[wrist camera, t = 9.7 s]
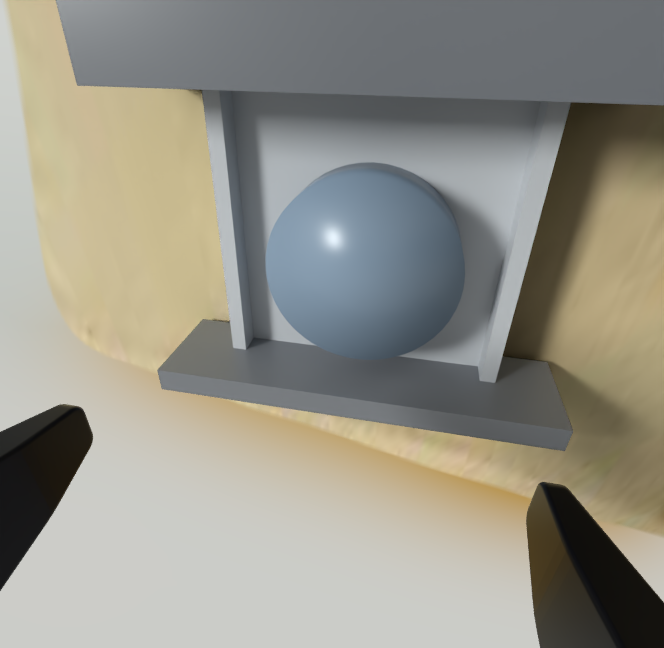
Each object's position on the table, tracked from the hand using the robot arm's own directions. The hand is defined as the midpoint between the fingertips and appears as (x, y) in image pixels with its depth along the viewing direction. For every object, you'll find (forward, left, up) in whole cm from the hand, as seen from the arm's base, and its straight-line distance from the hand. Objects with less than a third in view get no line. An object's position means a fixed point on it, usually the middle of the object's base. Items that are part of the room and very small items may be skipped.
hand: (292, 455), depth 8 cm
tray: (+1, -1, -11) cm, 11 cm away
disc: (0, 0, -10) cm, 10 cm away
